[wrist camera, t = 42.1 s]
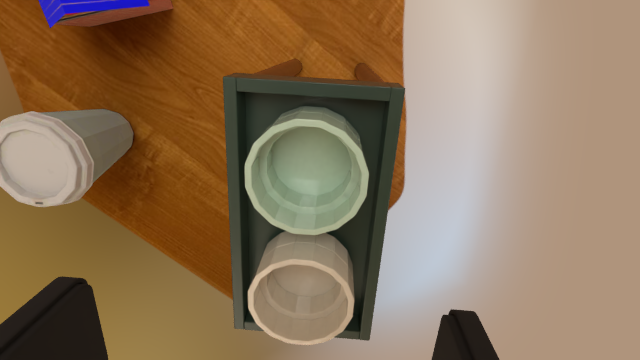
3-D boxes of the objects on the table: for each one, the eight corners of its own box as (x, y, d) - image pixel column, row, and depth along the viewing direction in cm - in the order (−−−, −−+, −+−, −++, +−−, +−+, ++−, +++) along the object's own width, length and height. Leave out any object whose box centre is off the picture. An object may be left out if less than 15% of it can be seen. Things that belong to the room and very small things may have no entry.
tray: (370, 62, 45) (405, 88, 20) (356, 198, 52) (369, 340, 27) (287, 57, 45) (222, 76, 20) (285, 192, 52) (234, 328, 27)
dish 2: (355, 228, 26) (358, 264, 22) (347, 303, 28) (349, 349, 24) (261, 221, 26) (246, 255, 22) (262, 296, 29) (248, 340, 24)
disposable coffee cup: (70, 92, 48) (-40, 112, 34) (146, 96, 48) (66, 118, 34) (85, 164, 52) (-7, 209, 38) (156, 168, 52) (88, 215, 38)
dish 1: (368, 108, 23) (374, 123, 18) (358, 206, 25) (361, 239, 21) (261, 101, 23) (243, 115, 19) (261, 199, 25) (245, 230, 21)
